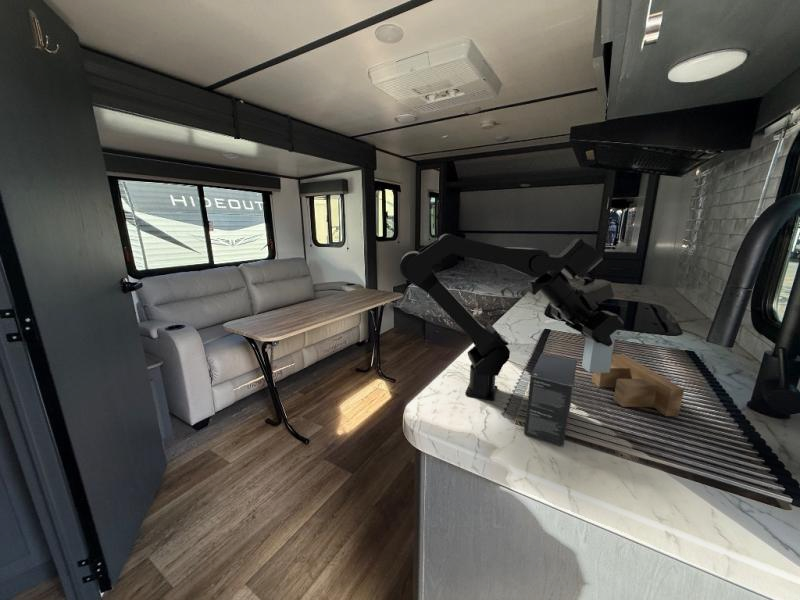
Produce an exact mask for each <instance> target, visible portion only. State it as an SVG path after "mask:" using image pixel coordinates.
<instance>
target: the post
mask: <svg viewBox="0 0 800 600" xmlns="http://www.w3.org/2000/svg"><path fill="white" fill-rule="evenodd" d="M616 333H617V330H616V331H615V332H614V333H612V334H611V335H610V338H611V340H612V343H613V344H612V345H611V346H609V347H608V346H606V345H604V344H602V343H596V342H595V341H593V340H591V339H590V338H587V337H586V336H585V340H584V341H585V342H584V349H583V353H582V356H583V357H582V363H581V367H582V368H583V369H584V370H585V371H586V372H588V373H593V372H599V373H610V366H611V363H612V358H613V354H614V353H613V352H614V346H615V341H616Z"/></svg>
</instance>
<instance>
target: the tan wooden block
mask: <svg viewBox="0 0 800 600" xmlns="http://www.w3.org/2000/svg"><path fill="white" fill-rule="evenodd" d="M591 382H592V383H593V384H594V383H595V384H596V385H595V384H594V385H595V386H597V387H598V388H614V395H613V401H614V402H616V403H617V404H618V405H619V406H620V407H623V408H654V409H655V410H656V411H658V412H660V413H661V414H662V415H664V416H665V417H679V415H680V411H681V407H682V401H683V396H684V392H685V389H684V388H683V387H681V386H679V385H677V384H676V383H674V382H673V381H670V380H669V379H667V378H665V377H664V376H662V375H660V374H658V373H657V372H655V371H653V370H651V369H650V368H648V367H647V366H644V365H643V364H642V363H640V362H638V361H635V360H634V359H632V358H631V357H629V356H627V355H625V354H623V353H613V354H612V360H611V366H610V373H599V372H592V378H591Z"/></svg>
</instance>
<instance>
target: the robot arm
mask: <svg viewBox="0 0 800 600" xmlns="http://www.w3.org/2000/svg"><path fill="white" fill-rule="evenodd" d="M451 254H452V255H457V256H462V257H466V258H471V259H475V260H480V261H484V262H489V263H495V264H498V265H502V266H505V267H507V268H509V269H511V270H514V271H517V272H519V273H521V274H524V275H526V276H528V277H531V278H535V279H533V280H530V279H529V280H527V286H526V292H527V293H528V294H531V295H533V296H534V295H536V294H537V293H538V292H540V293H541V295H543V296H544V297H545V298H546V300H548V302H549V305H550V307H551V309H550V311H551V312H550V314H551V315H552V316H553V317H554V318H555V319H556V320H558V321H559V322H561V321H563V320H565V323H564V324H565V325H566V326H567V327H569V328H570V329H572V330H575V331H577V332H579V333H580V334H581V335H583V336H584V337H585V338H586V337H587V338H590V339H591V340H593V341H595V342H596V343H602V344H604V345H606V346H608V347H609V346H611V345H612V344H613V343H612V340H611V338H610V335H611V334H612V333H614V332H615V331H616V332H617V330H619V329H620V328H621V327H622V326H623V325H624V320H622V318H621V317H620V316H619V315H618V314H616V313H613V312H610V311H608V310H599V311H595V310H596V309H597V308H598V307H599V305H598V304H599V303H601V302H603V301H606V300H609V299H614V298H615V297H616V293H615V289H614V287H613V284H612V282H611V281H608V280H605V279H598V278H597V279H594V280H593V278H590V277H585V275H586V274H588V273H589V272H590V271H591V270H592V269H594V268H595V267H596V266H597V265H598V264H599V263H600V262H602V261H603V259H604V258H603V255H602V254H601V252H600V251H599V250H598V249H596V248H594V247H593V246H592V245H590V244H588V243H586V242H585V241H584V239H582V238H575V239H573V240H572V241H571V242H570V244H569V245H568V246H567V247H566V248H565V249H563V251H562V252H561V253H559V254H558V255H555V254H550V253H549V252H547V251H546V250H544V249H539V248H532V247H518V246H517V247H514V246H513V247H512V246H511V247H505V246H501V245H496V244H491V243H486V242H483V241H477V240H473V239H468V238H463V237H460V236H456V235H454V234H452V233H444V234H442V235H440V236H439V237H438V238H437V239H436V240H434V241H432V242H430V243H429V244H427V245H426V246H424V247H421V248H420V249H419V250H417V251H416V250H413V251H407V253H405V254H404V255H403V256H402V257H401V260H400V264H399V270H400V273H401V275H402V276H403V277H404V278H405V279H406V280H408V281H409V282H411V284H413V285H414V286H415V287H417V288H419V289H420V290H422V291H423V292H425V293H427V294H428V295H429V296H430V297H431V298H432V299H433V300H434V301H435V302H436V304H438V306H440V308H441V309H442V310H443V311H444V312H445V314H447V315H448V316H449V318H451V319H452V320H453V322H454V323H456V325H458V327H459V328H460V329H462V332H464V333H465V334H466V335H467V336H468V337H469V338H470V340H471V341H472V344H473V345H474V346H473V347H472V348H471V349H469V350H468V351H467V356H468V359H469V361H470V362H471V365H469V366H470V368H469V384H468V386H467V387H466V391H465V392H464V393H465V396H469V397H473V398H477V399H478V398H479V399H483V400H487V401H488V400H489V401H495V399H496V396H497V392H498V386H497V385H496V377H497V376H499V374H500V372H501V370H502V369H503V366H504V365H506V364H507V362H508V361H509V359H510V355H511V351H510V348H509V347H508V345H509V342H508V341H507V340H506V339H505V338H504V337H503V335H501V333H499V332H498V331H497V329H496V328H495V327H494V326H493V325H492V324H491V323H488V324H487V325H486V326H485V325H483V324H482V323H480V322H479V321H478V320H477V319H476V318H475V317H474V316H473V315H472V314H471V312H469V310H468V309H466V307H465V306H464V305H463V304H462V303H461V302H460V301H459V300H458V299H457V297H455V295H454V294H453V293H452V292H451V291H450V290H449V289H448V288H447V287H446V286H445V284H443V283H442V281H441V280H440V279H439V277H438V276H437V275H436V272H435V271H434V270H433V268H432V267H433V266H436V264H438V263H439V262H441V261H442V260H443V259H444V258H446V257H447V256H448V255H451ZM574 278H576V279H578V280H579V285H578V288H576V287H575V286H574V284H572V282H570V280H573V279H574ZM569 279H570V280H569ZM593 311H594V312H593Z"/></svg>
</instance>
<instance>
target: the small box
mask: <svg viewBox="0 0 800 600" xmlns="http://www.w3.org/2000/svg"><path fill="white" fill-rule="evenodd" d="M577 364H578V360H577V359H573V358H569V357H564V356H559V355H554V354H548V353H545V352H543V353H541V354H540V355H539V357H538V360H537V362H536V364H535V366H534V367H533V369H532V372H531V374H530V377H529V385H528V386H529V389H528V398H527V407H526V412H525V413H526V414H525V420H524V427H523V428H524V429H523V434H524V435H526V436H528V437H532V438H535V439H538V440H540V441H544V442H547V443H550V444H553V445H555V446H559V447H564V444H565V438H566V433H567V432H566V431H567V429H568V428H567V427H568V422H569V416H570V411H571V406H572V399H573V398H572V397H573V393H574V392H573V391H574V386H575V379H576V371H577Z"/></svg>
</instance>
